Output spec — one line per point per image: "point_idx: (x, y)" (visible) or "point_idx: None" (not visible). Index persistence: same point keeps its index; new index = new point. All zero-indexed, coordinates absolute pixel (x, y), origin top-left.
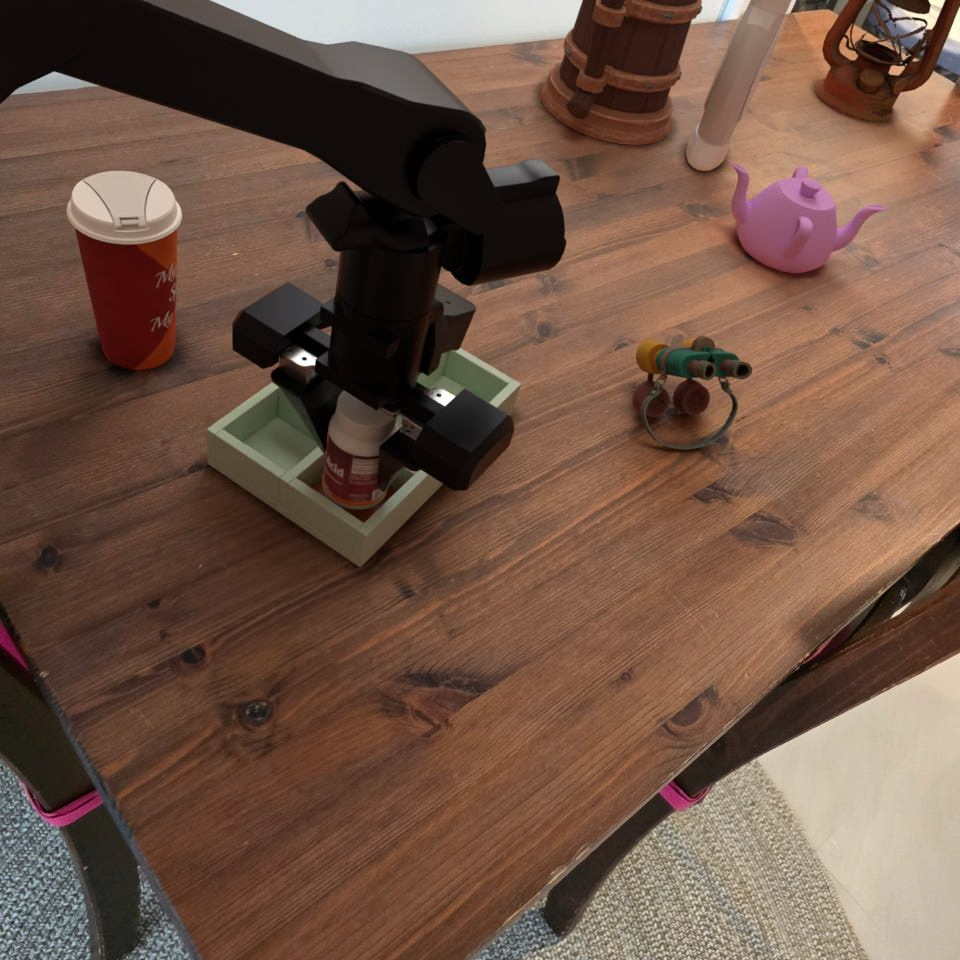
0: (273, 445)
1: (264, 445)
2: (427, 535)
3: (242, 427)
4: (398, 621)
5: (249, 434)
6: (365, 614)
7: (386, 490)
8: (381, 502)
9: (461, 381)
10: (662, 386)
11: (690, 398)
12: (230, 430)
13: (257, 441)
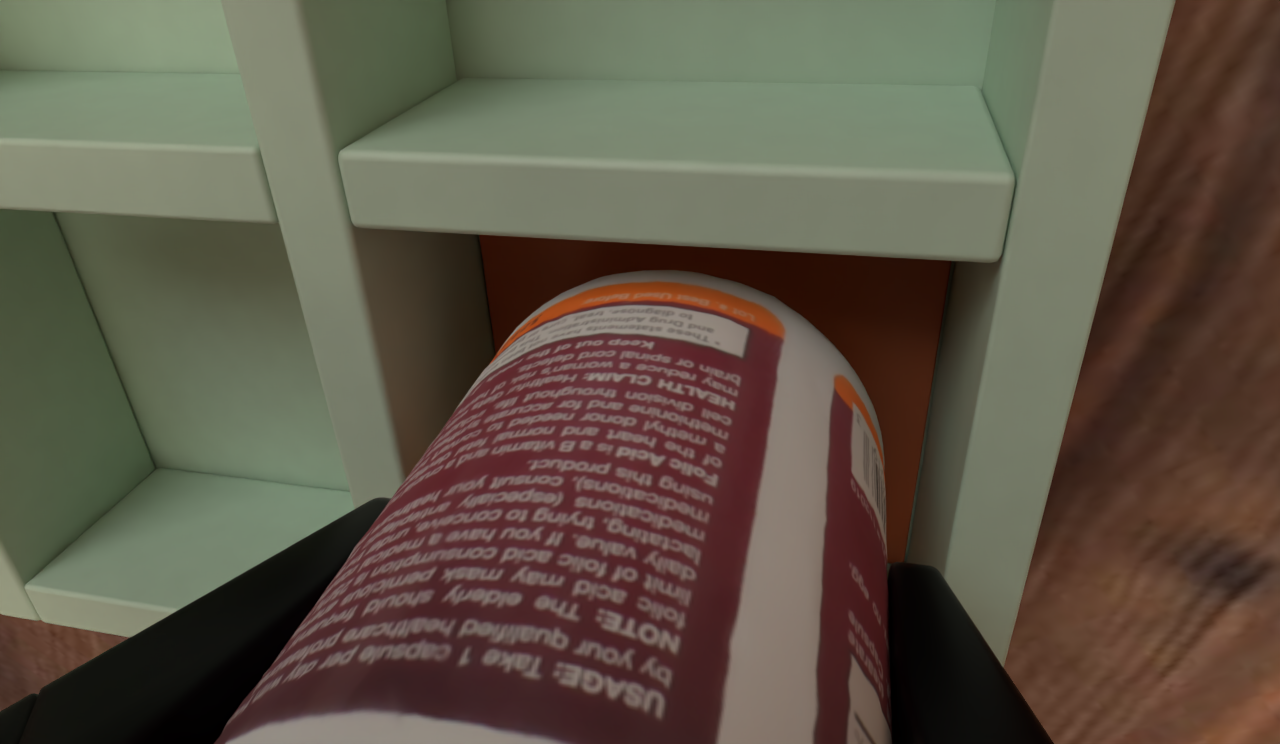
0: (194, 303)
1: (176, 328)
2: (1191, 236)
3: (42, 416)
4: (1248, 689)
5: (90, 328)
6: (1091, 710)
7: (880, 455)
8: (838, 293)
9: None
10: None
11: None
12: (42, 510)
13: (141, 323)
